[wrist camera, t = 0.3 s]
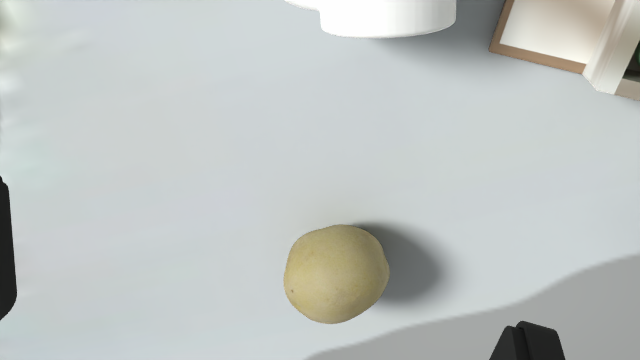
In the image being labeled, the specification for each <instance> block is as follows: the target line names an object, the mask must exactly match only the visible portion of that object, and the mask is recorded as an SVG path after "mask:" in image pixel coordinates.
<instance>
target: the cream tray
mask: <svg viewBox="0 0 640 360" xmlns="http://www.w3.org/2000/svg"><path fill="white" fill-rule="evenodd" d="M639 40H640V0H505V3H504V6H503V9H502V11H501V14H500V17H499V20H498V23H497V26H496V29H495V32H494V35H493V38H492V41H491V44H490V46H489V52H492V53H496V54H501V55H505V56H509V57H513V58H517V59H521V60H526V61H530V62H534V63H538V64H542V65H546V66H551V67H555V68H559V69H563V70H567V71H571V72H576V73H580V74H583V76H584V77H585V78H586V79H587V80H588V81H589V82H590V83H591V85H592V86H593V87H594V88H595V89H596V90H597V91H601V92H605V93H609V94H613V95H617V96H622V97H626V98H630V99H634V100H638V101H640V66H639V65H638V63H637V61H636V59H635V49H636V47H637V45H638V43H639Z"/></svg>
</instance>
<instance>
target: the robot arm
mask: <svg viewBox="0 0 640 360" xmlns="http://www.w3.org/2000/svg"><path fill="white" fill-rule="evenodd" d="M16 297H17V287H16V275H15V262H14V250H13V237H12V225H11V212H10V199H9V190H8V186H7V185H6V184H5V183H3V181H2V178H1V176H0V320H1V319H2V318H3V317H4V316H5V315H7V314H8V312H9V311H10V310H11V309H12V307H13V305H14V303H15V301H16ZM489 360H565V357H564V353H563V350H562V346H561V343H560V340H559V336H558V334H557V332H556V331H555V330H554V329H550V328H546V327H543V326H540V325H536V324H533V323H529V322H525V321H520V322H519V323H518V324H517V325H516V327H512V326H507V327H506V328H505V329H504V331H503V333H502V335H501V337H500V339H499V341H498V343H497V345H496V347H495V349H494V351H493V353H492V355H491V358H490V359H489Z"/></svg>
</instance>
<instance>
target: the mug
mask: <svg viewBox="0 0 640 360" xmlns="http://www.w3.org/2000/svg"><path fill="white" fill-rule="evenodd" d="M284 1H286V2H288V3H289V4H291V5H294V6H296V7H299V8H302V9H307V10H313V11H319V12H320V16H321V27H322V29H323V30H324V31H325V32H327V33H329V34H332V35H335V36H341V37H349V38H369V39H371V38H397V37H408V36H416V35H422V34H428V33H433V32H437V31H440V30H443V29H446V28H448V27H450V26H451V25H453V24H454V22H455V20H456V0H284Z"/></svg>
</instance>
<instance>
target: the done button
mask: <svg viewBox="0 0 640 360" xmlns="http://www.w3.org/2000/svg"><path fill="white" fill-rule="evenodd" d="M635 59H636V61H637V63H638V65H639V66H640V40H639V43H638V45H637V47H636V49H635Z"/></svg>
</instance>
